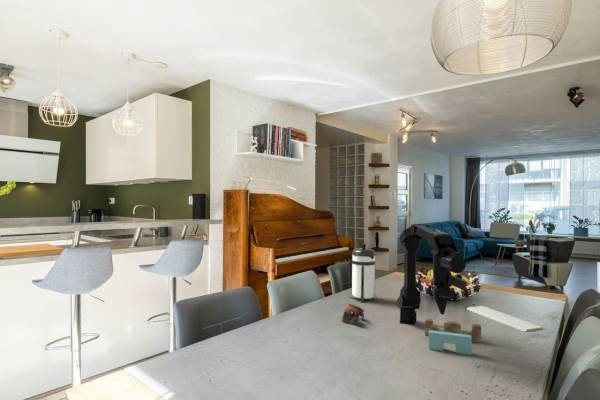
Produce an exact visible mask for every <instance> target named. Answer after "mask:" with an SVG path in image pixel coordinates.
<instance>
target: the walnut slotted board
mask: <svg viewBox="0 0 600 400" xmlns="http://www.w3.org/2000/svg"><path fill="white" fill-rule="evenodd" d="M429 330H433V331H441V332H449V333H457V334H466V335H471V337H472V343H473V342H474V343H479V344H481V343H482V325H481V324H477V323H472V324H471V331H470V330H463V329H462V324H461V322H459V321H451V320H443V327H437V326H434V319H432V318H424V336H426V337H429Z"/></svg>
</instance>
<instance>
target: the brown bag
mask: <svg viewBox="0 0 600 400" xmlns="http://www.w3.org/2000/svg"><path fill="white" fill-rule="evenodd" d="M343 310H344V311H343V315H342V316H341V321H342V322H344V323H346V324H349V325H350V324H351V323H357V322H358V321H359V318H360V317H361V321H364V319H365V313H364V312H365V310H364V309H363V308H361V307H359V306H357V305H355V304H351V303H349V304H348V305H347V306H346V307H345V308H344V309H343Z"/></svg>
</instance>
